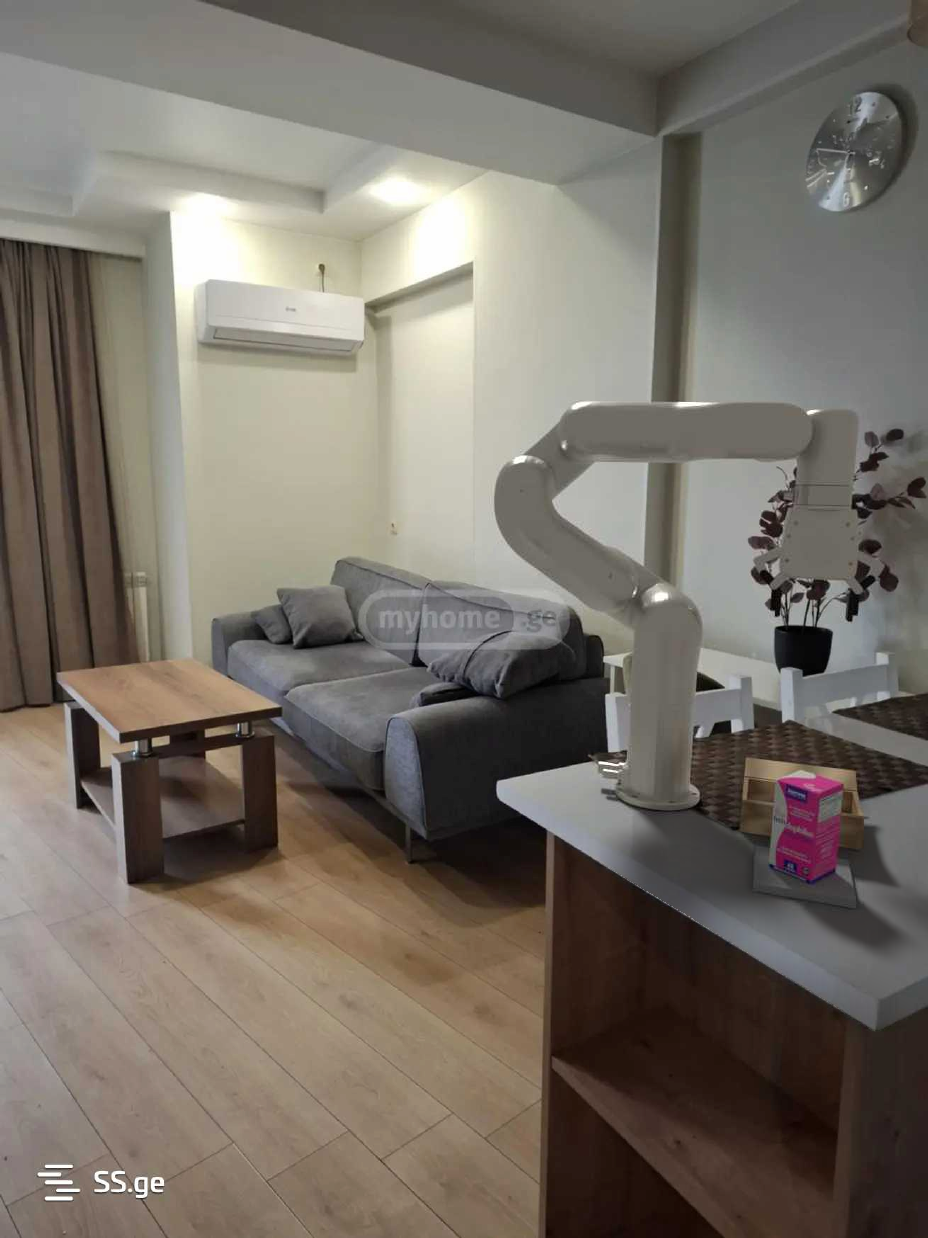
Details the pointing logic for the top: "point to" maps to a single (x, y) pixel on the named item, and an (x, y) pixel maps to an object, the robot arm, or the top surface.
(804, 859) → the supplement box
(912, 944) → the top surface
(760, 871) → the mat
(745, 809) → the wooden crate
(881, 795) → the top surface
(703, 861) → the top surface
